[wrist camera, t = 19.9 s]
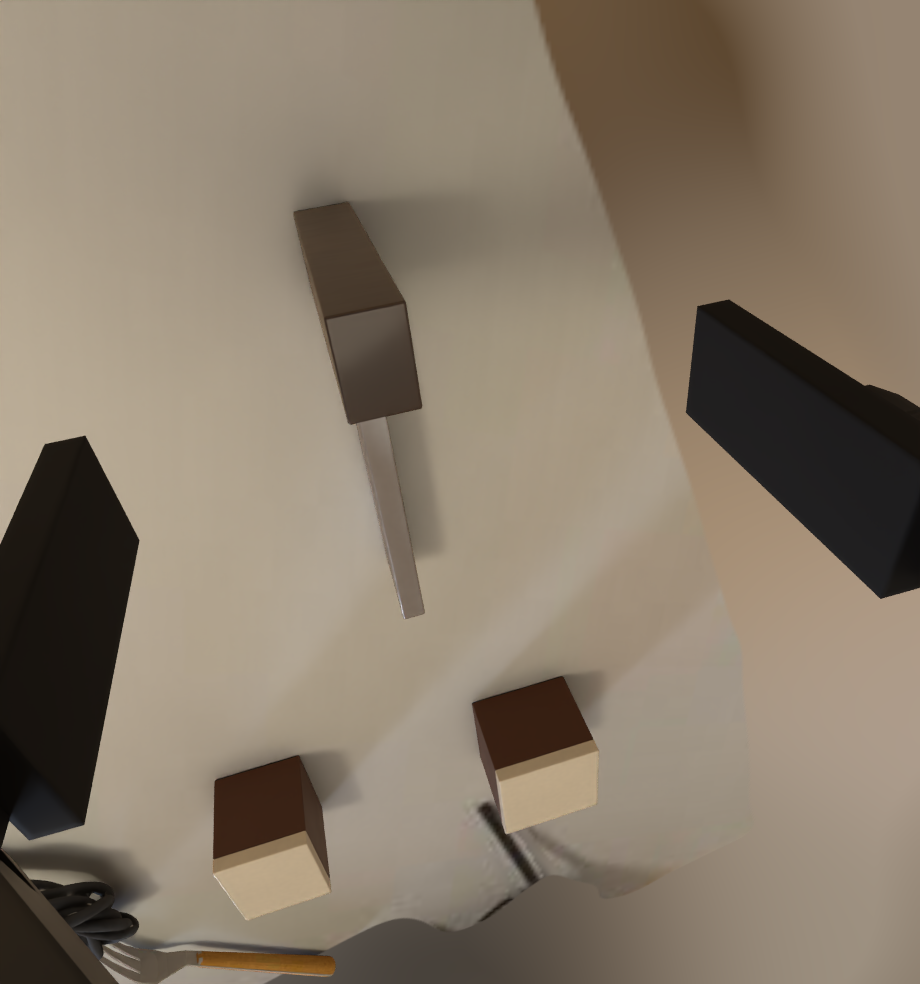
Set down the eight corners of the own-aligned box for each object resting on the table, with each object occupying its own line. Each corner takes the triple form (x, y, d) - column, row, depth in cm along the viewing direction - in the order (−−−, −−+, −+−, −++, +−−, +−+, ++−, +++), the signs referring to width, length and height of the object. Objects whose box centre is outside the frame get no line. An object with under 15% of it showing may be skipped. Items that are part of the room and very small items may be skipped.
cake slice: (298, 755, 41) (307, 844, 37) (321, 806, 45) (331, 892, 40) (214, 780, 40) (212, 874, 36) (244, 830, 44) (246, 921, 40)
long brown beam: (349, 201, 24) (405, 300, 16) (417, 555, 35) (472, 719, 27) (292, 211, 24) (323, 317, 16) (378, 565, 34) (422, 734, 26)
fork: (344, 971, 56) (98, 963, 44) (332, 988, 56) (82, 984, 45) (335, 942, 58) (97, 927, 46) (323, 958, 58) (83, 948, 47)
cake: (562, 675, 44) (599, 750, 39) (564, 730, 47) (597, 804, 43) (471, 702, 43) (499, 782, 38) (480, 756, 46) (506, 835, 42)
